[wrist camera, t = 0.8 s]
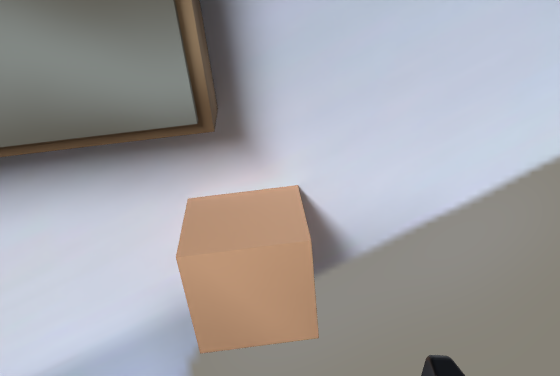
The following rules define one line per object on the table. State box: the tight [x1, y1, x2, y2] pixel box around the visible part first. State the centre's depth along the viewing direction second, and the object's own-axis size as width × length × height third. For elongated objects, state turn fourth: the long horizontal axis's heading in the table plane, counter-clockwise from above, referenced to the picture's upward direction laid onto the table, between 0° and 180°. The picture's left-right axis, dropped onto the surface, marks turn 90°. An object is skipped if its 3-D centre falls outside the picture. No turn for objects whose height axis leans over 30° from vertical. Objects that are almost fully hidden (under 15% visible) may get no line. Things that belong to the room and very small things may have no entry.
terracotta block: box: [176, 185, 319, 353], centre depth 20 cm, size 5×5×4 cm
